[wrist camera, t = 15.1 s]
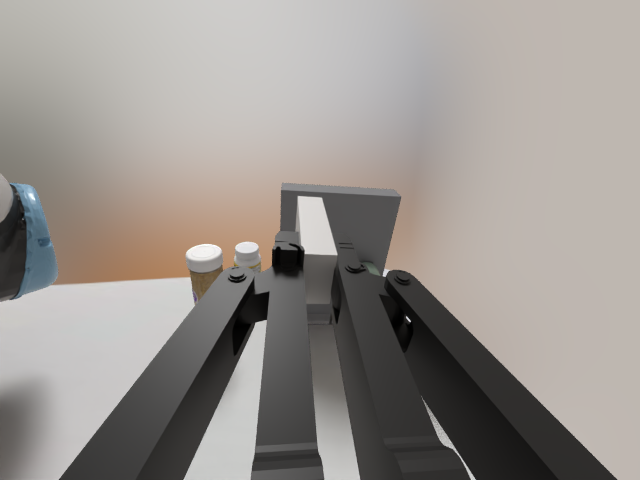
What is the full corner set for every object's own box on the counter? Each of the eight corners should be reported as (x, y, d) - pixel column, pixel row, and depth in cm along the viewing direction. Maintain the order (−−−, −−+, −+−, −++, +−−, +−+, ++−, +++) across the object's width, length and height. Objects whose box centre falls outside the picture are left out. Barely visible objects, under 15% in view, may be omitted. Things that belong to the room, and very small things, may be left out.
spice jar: (191, 325, 42) (177, 251, 36) (217, 310, 45) (208, 239, 39) (209, 341, 40) (198, 264, 34) (235, 323, 43) (229, 251, 37)
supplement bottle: (239, 276, 54) (237, 239, 50) (263, 278, 54) (263, 241, 50) (232, 292, 50) (229, 253, 46) (258, 294, 50) (257, 255, 46)
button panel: (275, 324, 44) (276, 193, 33) (277, 295, 50) (279, 177, 39) (377, 324, 46) (409, 200, 35) (367, 296, 52) (392, 184, 41)
